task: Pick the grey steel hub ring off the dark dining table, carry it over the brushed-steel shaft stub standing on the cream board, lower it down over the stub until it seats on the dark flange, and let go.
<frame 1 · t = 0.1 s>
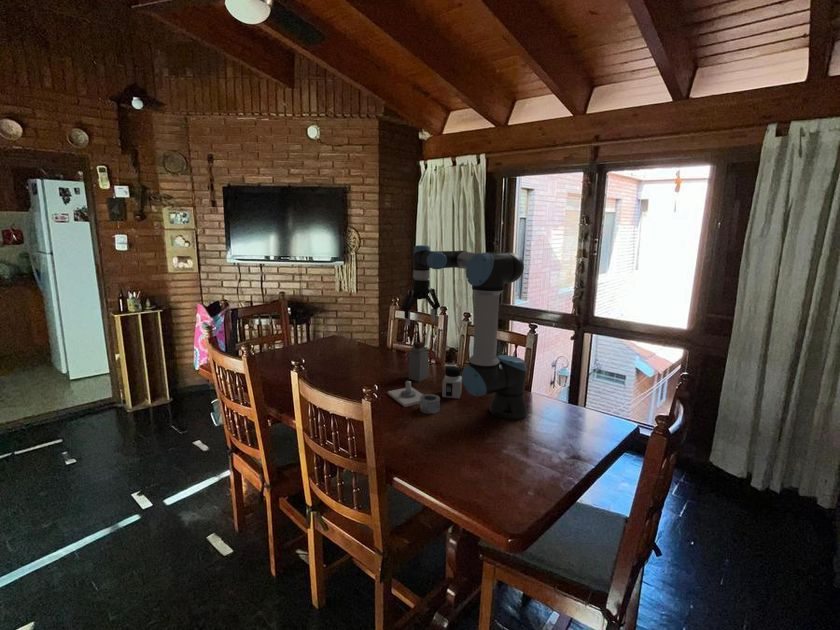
hand: (420, 323, 208), 28 cm above the table, fingers open, 13 cm apart
shaft block: (408, 397, 192), on the table
hub: (429, 409, 180), on the table
perfume bottle: (418, 378, 216), on the table
container: (451, 395, 196), on the table
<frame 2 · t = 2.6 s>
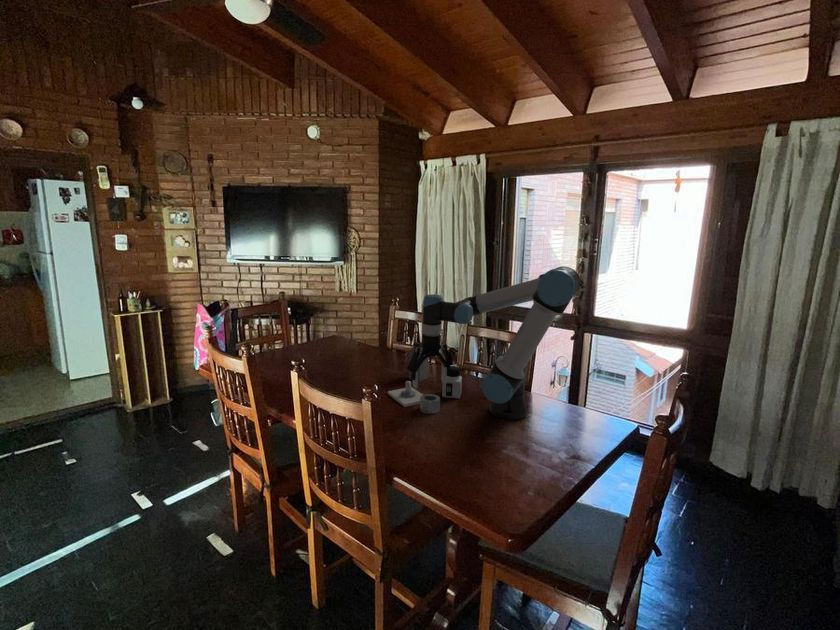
hand: (429, 384, 178), 11 cm above the table, fingers open, 13 cm apart
nothing on the table moved.
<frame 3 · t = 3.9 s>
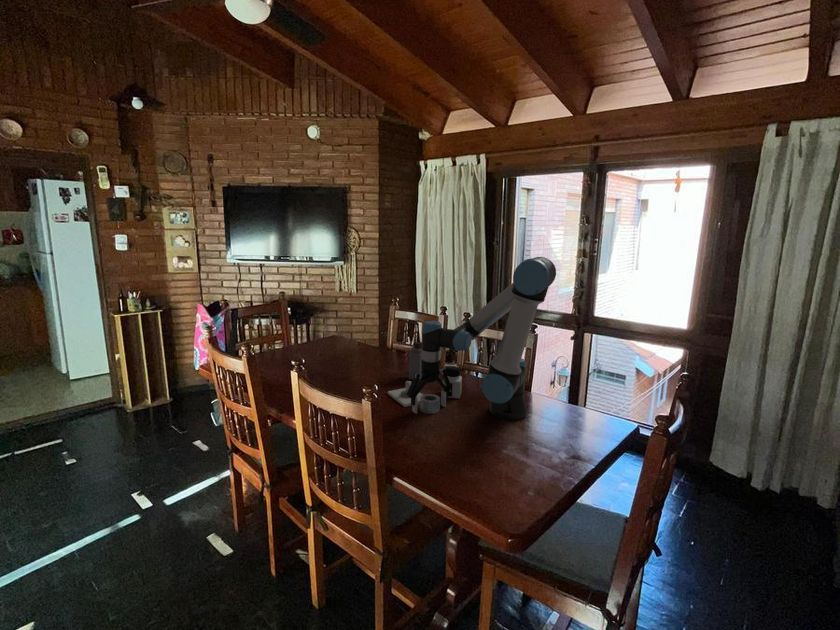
hand: (429, 409, 180), 0 cm above the table, fingers open, 13 cm apart
nothing on the table moved.
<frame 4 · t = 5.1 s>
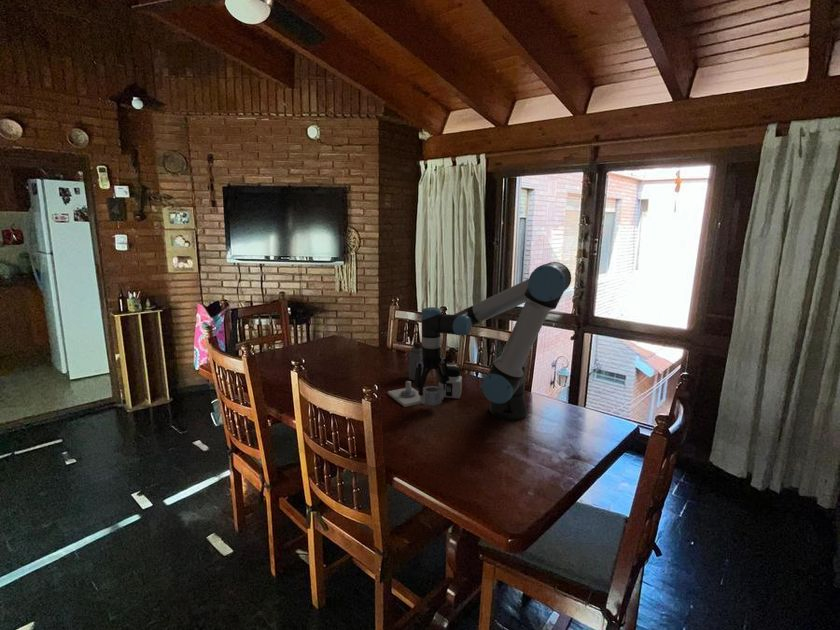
hand: (431, 400, 179), 4 cm above the table, fingers closed on hub, 8 cm apart
hub: (431, 401, 179), point 4 cm above the table, touching gripper
everything else where it was.
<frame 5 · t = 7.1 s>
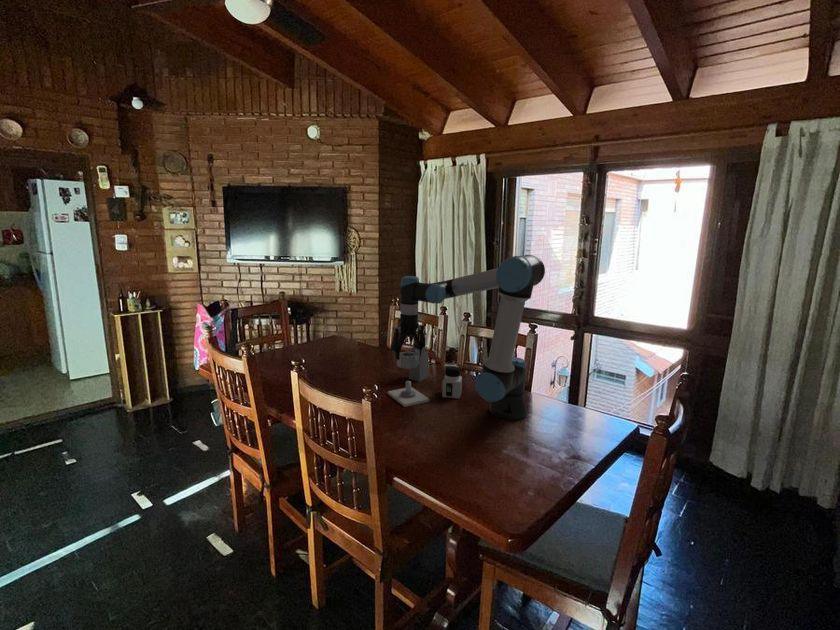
hand: (408, 364, 189), 15 cm above the table, fingers closed on hub, 8 cm apart
hub: (408, 365, 189), point 15 cm above the table, touching gripper
everything else where it was.
when the fingers open (3 cm above the table, at t = 9.4 s): hub stays where it is, resting on shaft block.
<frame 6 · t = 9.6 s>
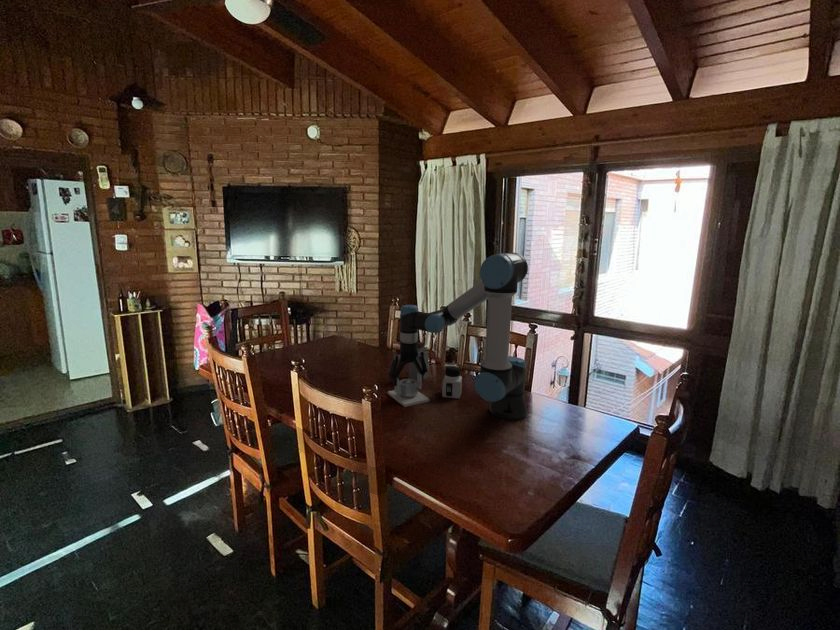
hand: (408, 390, 191), 3 cm above the table, fingers open, 10 cm apart
hub: (408, 392, 192), point 2 cm above the table, touching shaft block
everything else where it was.
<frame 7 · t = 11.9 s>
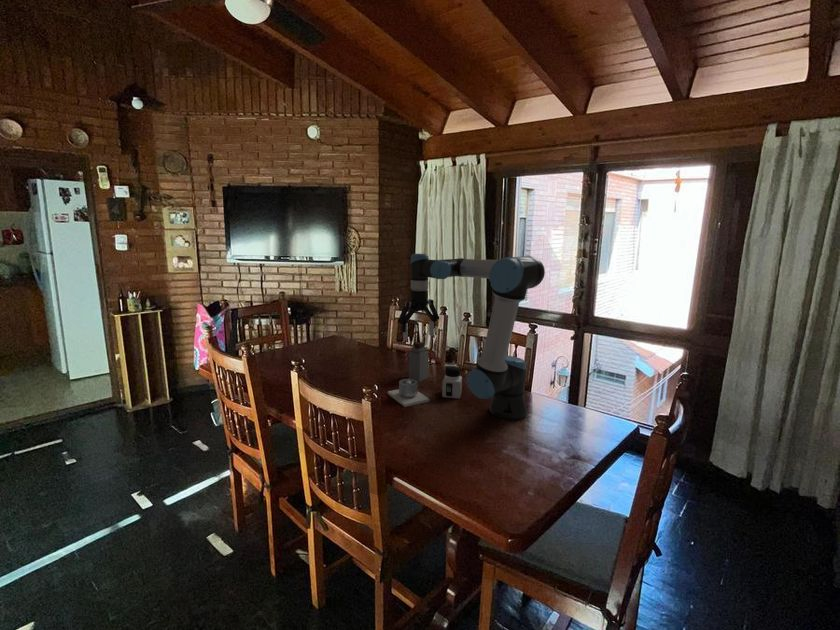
hand: (418, 337, 195), 25 cm above the table, fingers open, 13 cm apart
nothing on the table moved.
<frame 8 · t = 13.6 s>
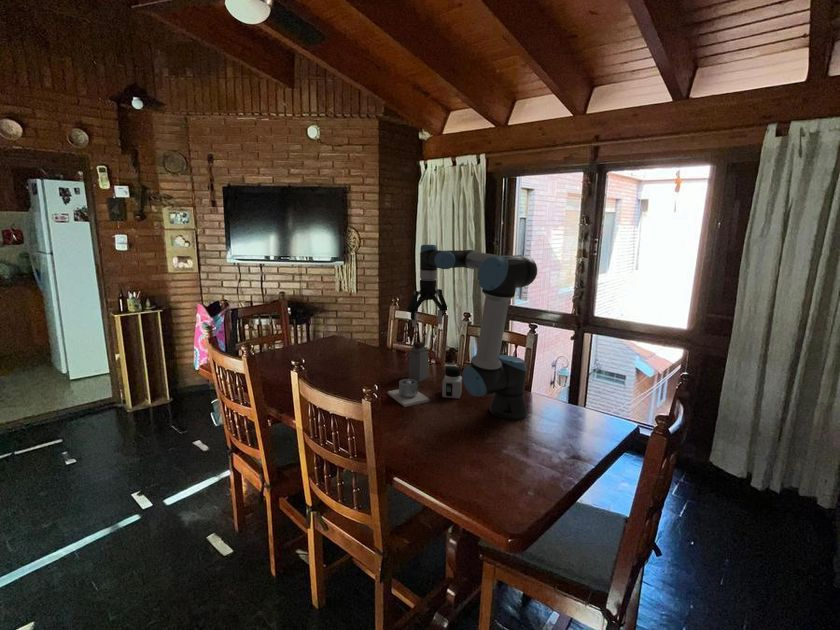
hand: (427, 325, 202), 29 cm above the table, fingers open, 13 cm apart
nothing on the table moved.
at the end: hub 0.0 cm off-centre on the shaft block, point 2.2 cm above the shaft block's base; hub tilted 0°; the gripper is holding nothing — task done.
